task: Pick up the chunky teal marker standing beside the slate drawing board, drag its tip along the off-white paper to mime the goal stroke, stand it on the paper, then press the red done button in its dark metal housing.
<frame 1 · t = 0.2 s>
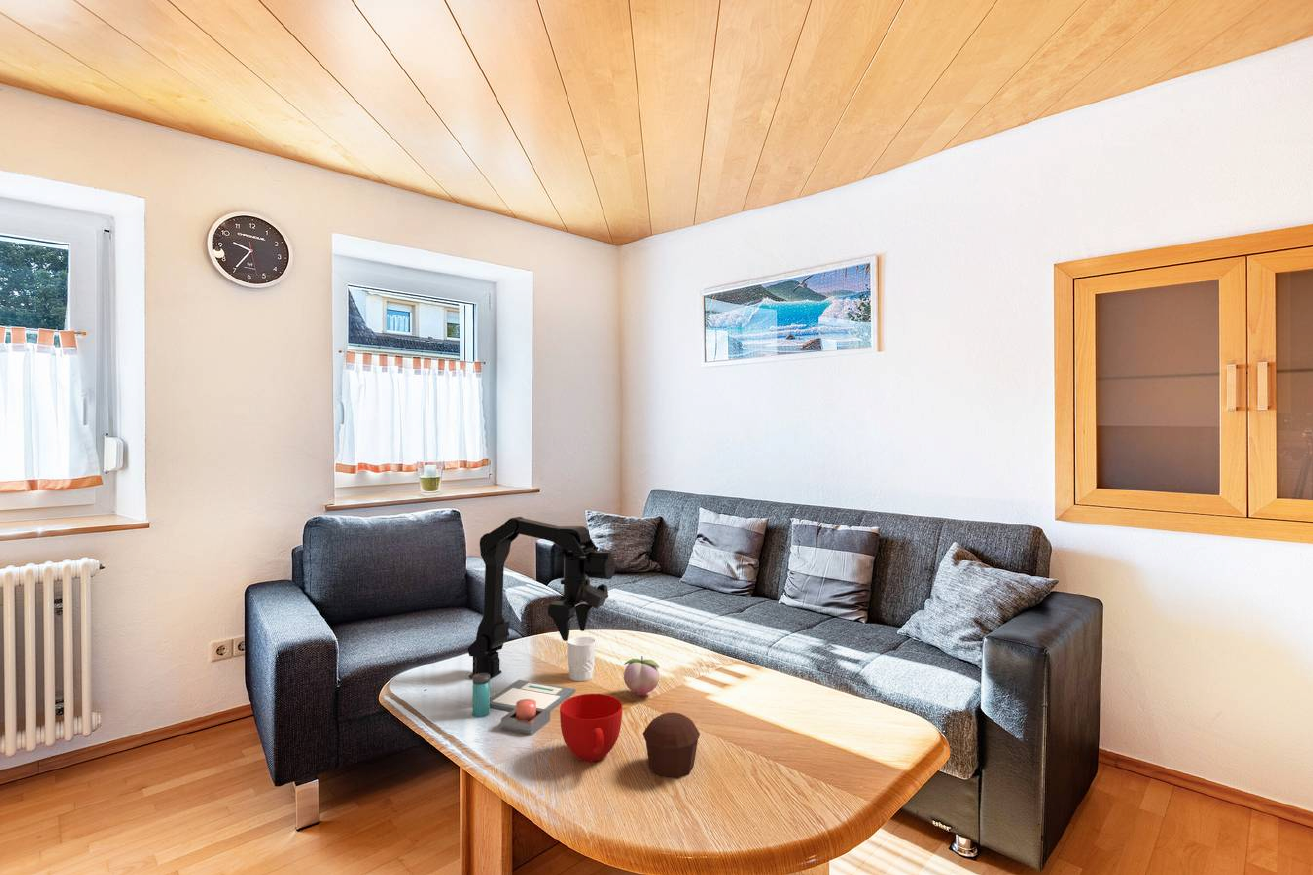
hand: (574, 635, 164), 14 cm above the table, tool pointing down, fingers open, 9 cm apart
marker: (480, 713, 150), on the table
done button: (525, 710, 145), point 3 cm above the table, slide at 0.0 cm
white cup: (581, 677, 174), on the table
button housing: (525, 724, 145), on the table
ceramic cup: (592, 759, 130), on the table
muffin: (670, 767, 127), on the table
drawing board: (530, 698, 159), on the table
decorative fruit: (641, 695, 163), on the table
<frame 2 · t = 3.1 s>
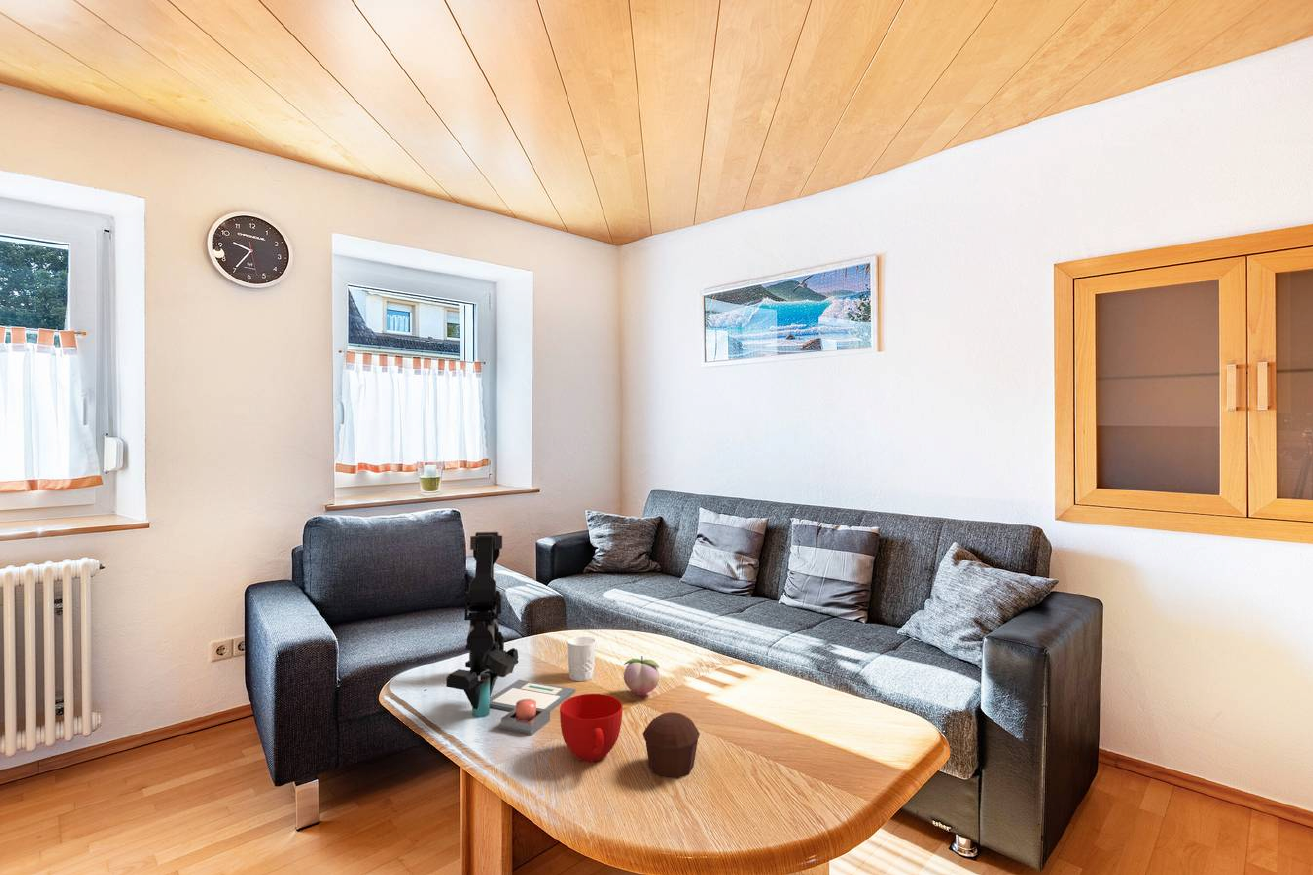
hand: (481, 705, 150), 2 cm above the table, tool pointing down, fingers closed on marker, 4 cm apart
marker: (480, 713, 150), on the table, touching gripper
everything else where it was.
when the fingers open (3 cm above the table, at t = 8.4 s): marker stays where it is, resting on drawing board.
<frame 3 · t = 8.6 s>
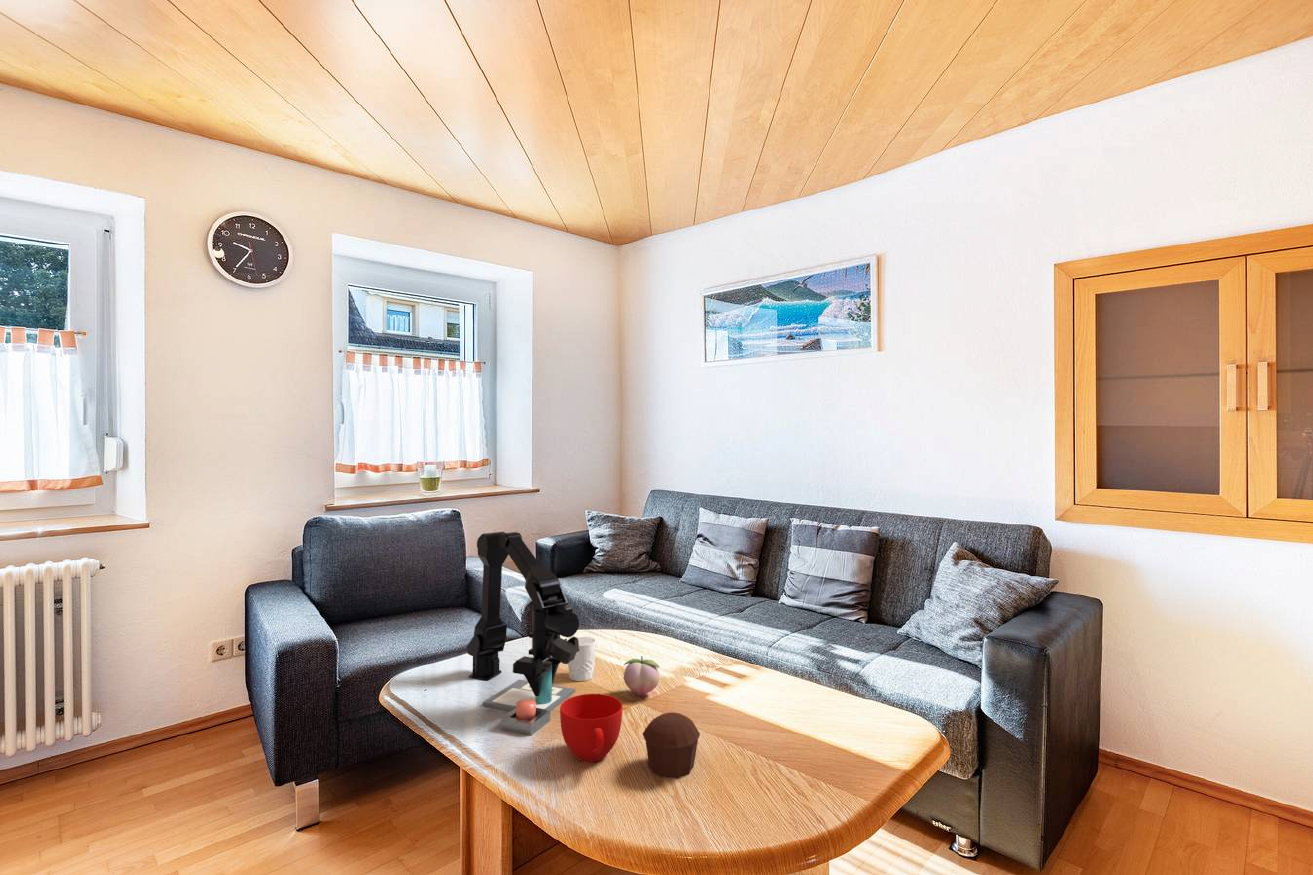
hand: (543, 691, 156), 3 cm above the table, tool pointing down, fingers open, 6 cm apart
marker: (543, 700, 156), point 1 cm above the table, touching drawing board
everything else where it was.
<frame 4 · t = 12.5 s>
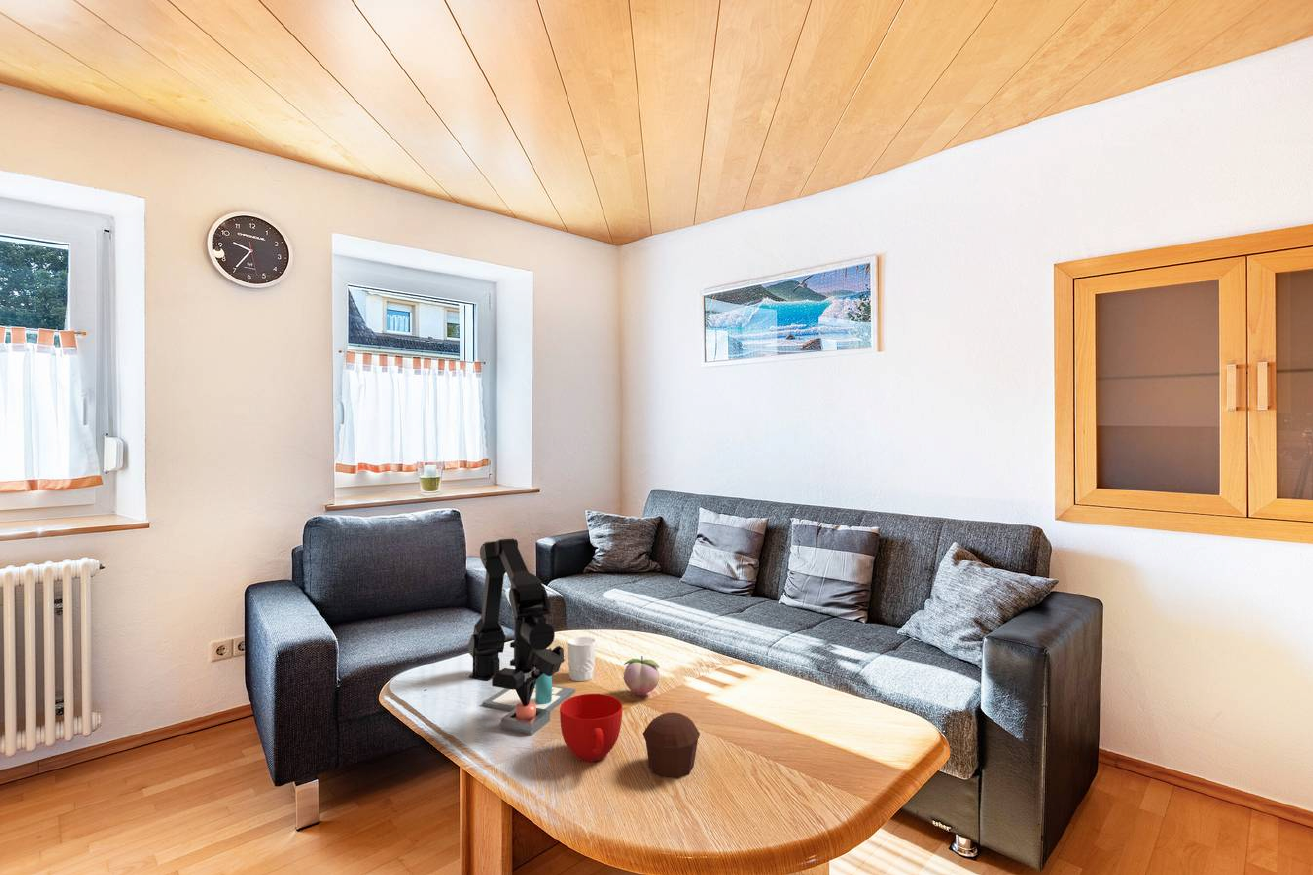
hand: (526, 705, 145), 4 cm above the table, tool pointing down, fingers closed, pressing on done button
done button: (525, 713, 145), point 3 cm above the table, slide at 0.6 cm, touching gripper
everything else where it was.
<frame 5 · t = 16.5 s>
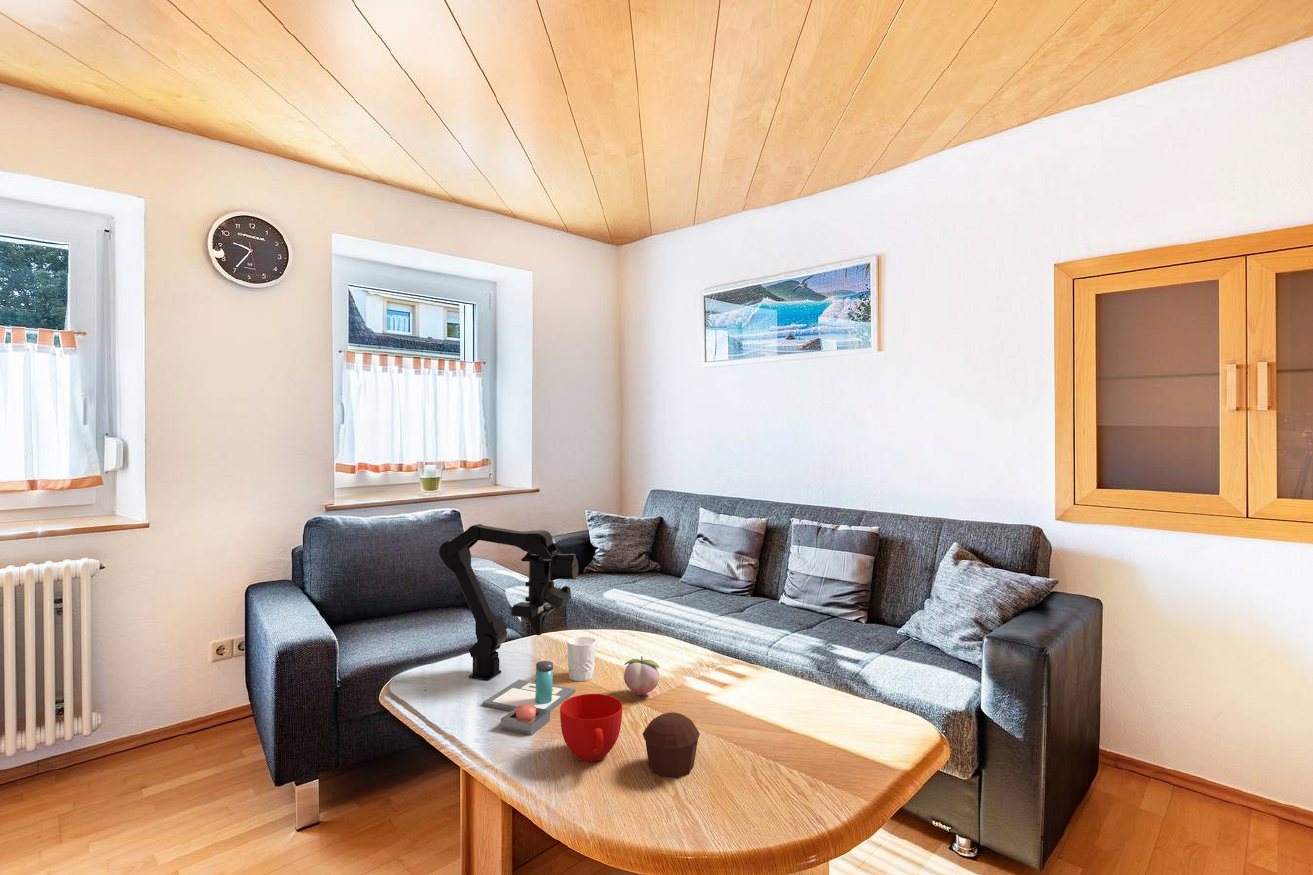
hand: (538, 635, 172), 12 cm above the table, tool pointing down, fingers closed
done button: (525, 715, 145), point 2 cm above the table, slide at 1.1 cm
everything else where it was.
at the end: marker inside the target area (4.5 cm from its centre), point 1.0 cm above the table; marker tilted 1°; done button slide at 1.1 cm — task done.
